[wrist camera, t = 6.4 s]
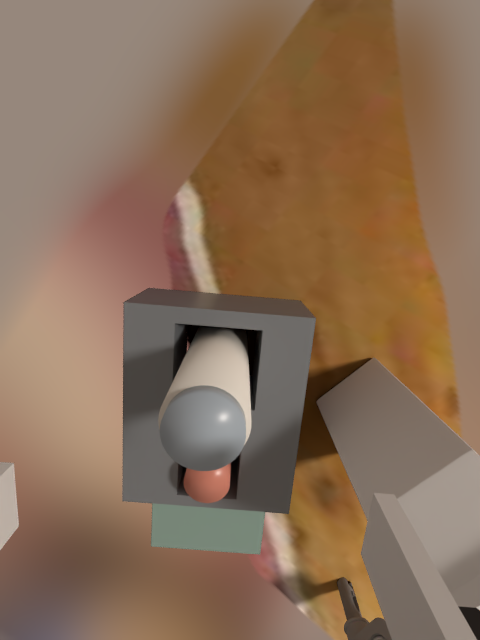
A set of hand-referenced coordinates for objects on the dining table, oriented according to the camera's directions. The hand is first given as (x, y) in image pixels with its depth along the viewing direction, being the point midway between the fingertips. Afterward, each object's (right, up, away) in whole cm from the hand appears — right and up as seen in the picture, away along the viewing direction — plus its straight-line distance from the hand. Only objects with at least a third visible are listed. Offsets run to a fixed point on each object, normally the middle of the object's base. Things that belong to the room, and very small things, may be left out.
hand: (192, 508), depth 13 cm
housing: (0, +1, +21) cm, 22 cm away
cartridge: (0, +5, +21) cm, 21 cm away
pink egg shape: (-1, -4, +22) cm, 22 cm away
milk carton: (+14, -1, +22) cm, 26 cm away
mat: (-2, -14, +25) cm, 29 cm away
